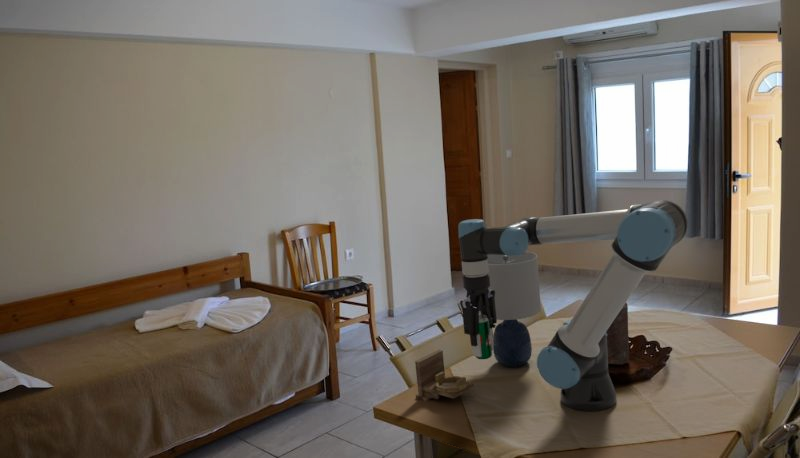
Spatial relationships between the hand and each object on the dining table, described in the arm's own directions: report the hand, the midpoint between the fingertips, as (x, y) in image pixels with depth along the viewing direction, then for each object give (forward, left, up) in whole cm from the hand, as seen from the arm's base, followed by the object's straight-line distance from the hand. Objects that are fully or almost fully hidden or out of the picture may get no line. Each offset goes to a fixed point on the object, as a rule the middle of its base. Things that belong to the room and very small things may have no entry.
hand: (483, 352), depth 187 cm
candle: (-19, -45, -15) cm, 51 cm away
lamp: (+10, -29, -15) cm, 34 cm away
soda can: (0, 0, -2) cm, 2 cm away
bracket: (+13, +4, -15) cm, 20 cm away
